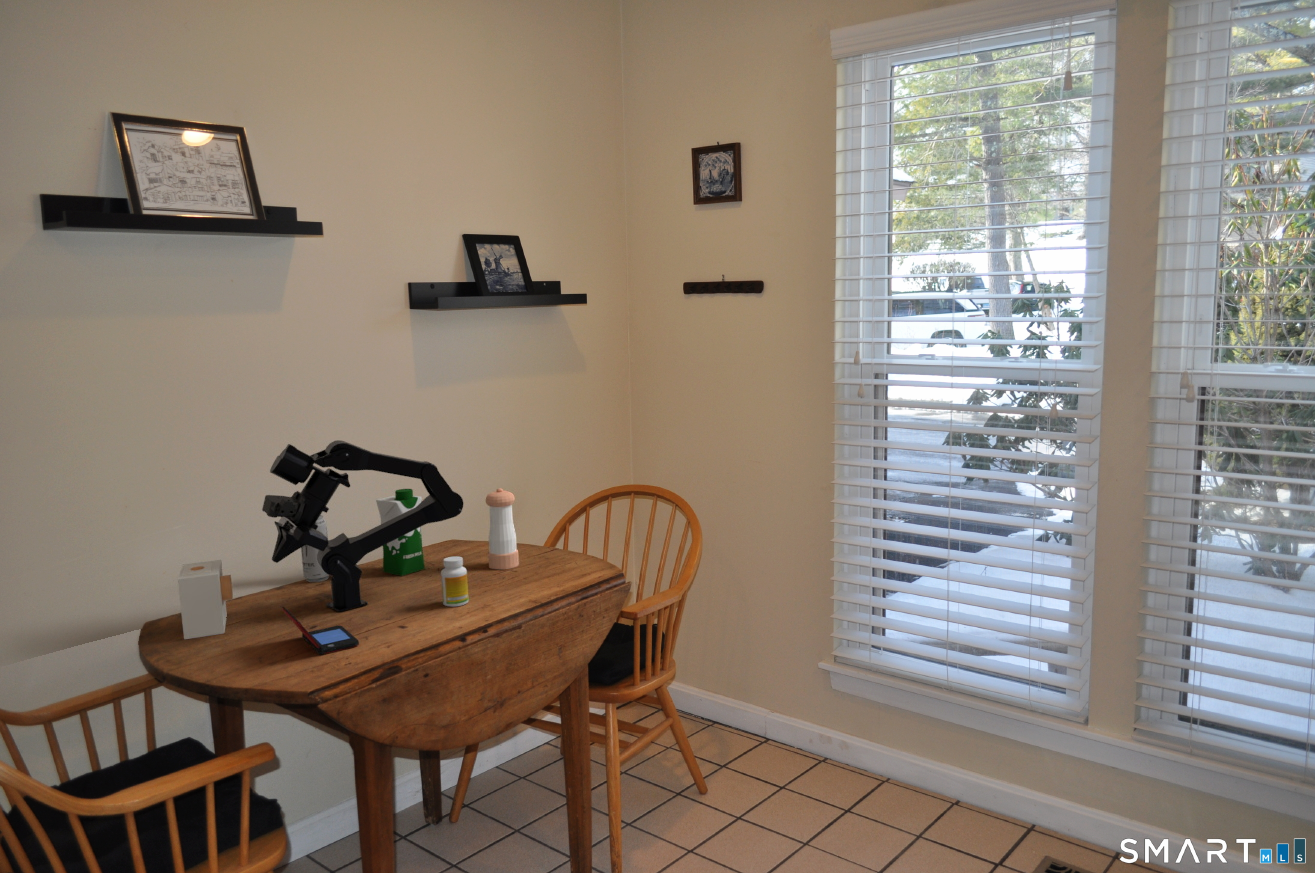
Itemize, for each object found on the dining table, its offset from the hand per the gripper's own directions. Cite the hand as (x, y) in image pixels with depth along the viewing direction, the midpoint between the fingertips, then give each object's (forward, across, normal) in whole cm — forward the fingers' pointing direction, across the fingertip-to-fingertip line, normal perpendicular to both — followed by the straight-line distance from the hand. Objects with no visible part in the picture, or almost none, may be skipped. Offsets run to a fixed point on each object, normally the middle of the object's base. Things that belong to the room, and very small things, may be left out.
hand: (274, 561), depth 182 cm
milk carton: (-7, -9, +36) cm, 38 cm away
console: (+17, -2, -4) cm, 18 cm away
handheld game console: (+6, +24, +4) cm, 26 cm away
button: (+11, -2, -4) cm, 12 cm away
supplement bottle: (-10, +22, +29) cm, 38 cm away
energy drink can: (+5, -18, +23) cm, 29 cm away
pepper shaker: (-20, +6, +50) cm, 54 cm away
